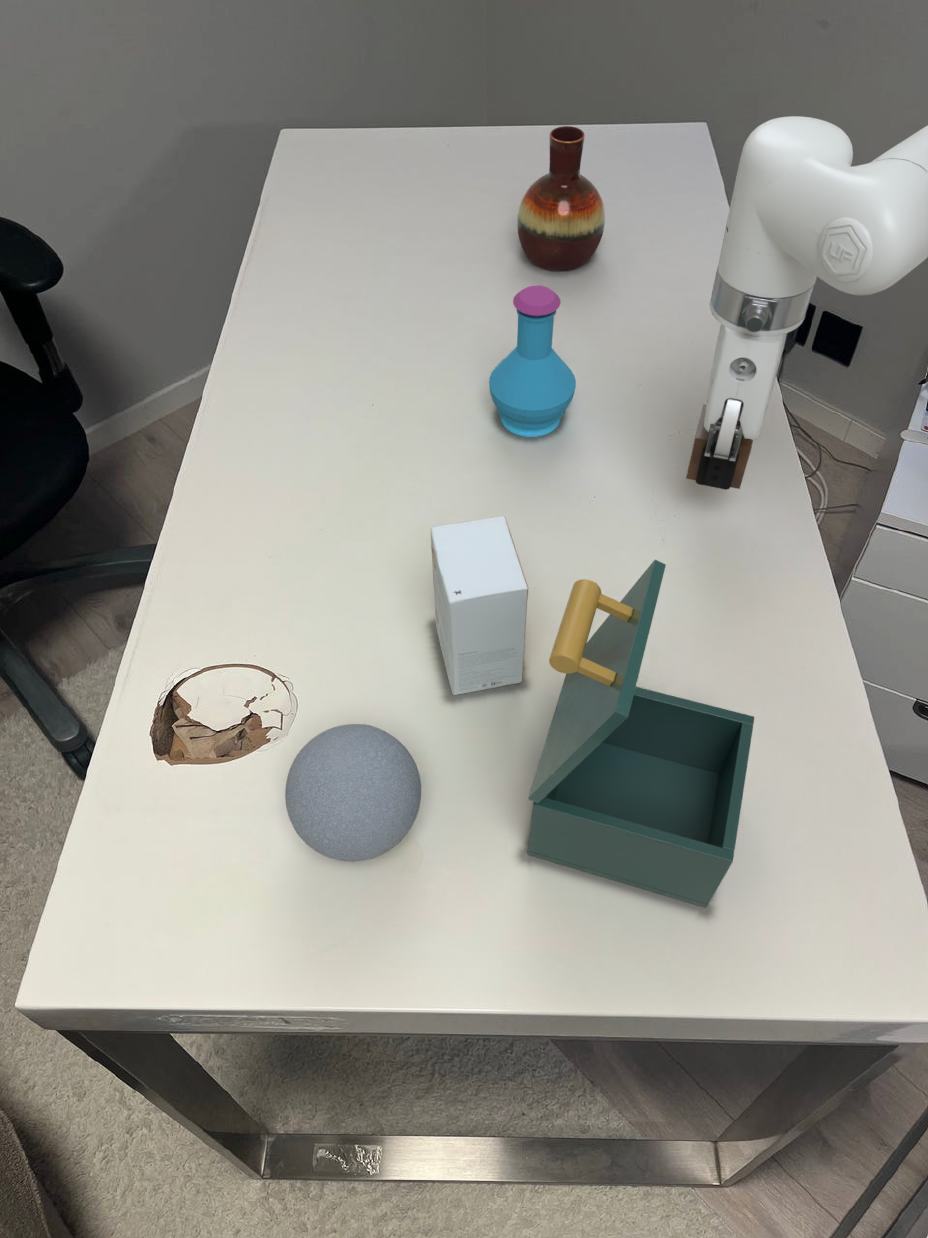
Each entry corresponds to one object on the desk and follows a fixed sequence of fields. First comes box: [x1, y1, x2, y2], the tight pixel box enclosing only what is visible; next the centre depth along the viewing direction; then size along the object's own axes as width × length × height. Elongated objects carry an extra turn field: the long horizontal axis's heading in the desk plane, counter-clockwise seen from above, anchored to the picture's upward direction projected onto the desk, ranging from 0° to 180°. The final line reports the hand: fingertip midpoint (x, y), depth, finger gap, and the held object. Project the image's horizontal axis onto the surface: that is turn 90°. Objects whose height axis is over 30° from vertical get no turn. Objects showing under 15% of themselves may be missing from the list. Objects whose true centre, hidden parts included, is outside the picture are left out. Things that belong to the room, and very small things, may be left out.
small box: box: [430, 515, 529, 696], centre depth 75 cm, size 8×6×13 cm
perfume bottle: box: [488, 285, 577, 438], centre depth 93 cm, size 9×9×15 cm
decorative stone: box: [284, 723, 422, 863], centre depth 67 cm, size 10×10×10 cm
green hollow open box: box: [527, 686, 755, 909], centre depth 67 cm, size 14×12×9 cm
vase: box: [516, 125, 606, 272], centre depth 112 cm, size 11×11×15 cm
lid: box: [528, 559, 667, 803], centre depth 59 cm, size 14×12×5 cm
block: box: [685, 403, 754, 490], centre depth 84 cm, size 5×5×5 cm
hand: (717, 462), depth 86 cm, fingers closed on block, 5 cm apart
